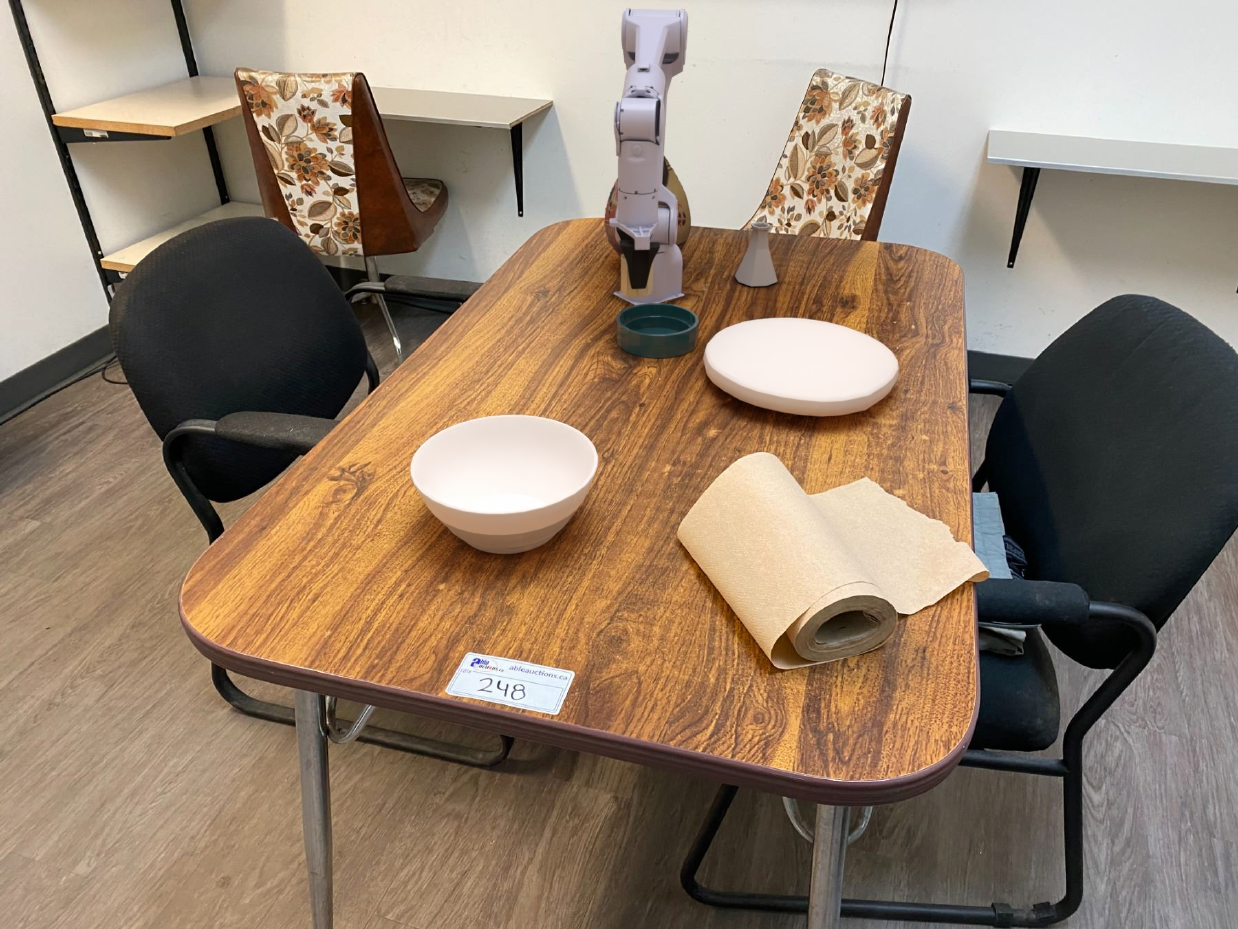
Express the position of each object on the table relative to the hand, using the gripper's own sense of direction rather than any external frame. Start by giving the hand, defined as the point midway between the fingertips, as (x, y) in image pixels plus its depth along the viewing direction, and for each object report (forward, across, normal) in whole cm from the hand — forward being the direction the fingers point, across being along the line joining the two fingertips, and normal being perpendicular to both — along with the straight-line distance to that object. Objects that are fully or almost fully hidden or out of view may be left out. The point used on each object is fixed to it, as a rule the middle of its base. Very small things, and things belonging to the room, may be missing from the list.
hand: (636, 281), depth 135 cm
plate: (+10, +16, +21) cm, 28 cm away
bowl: (+9, +47, -18) cm, 51 cm away
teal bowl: (+9, +2, +3) cm, 10 cm away
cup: (+2, 0, 0) cm, 2 cm away
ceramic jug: (+9, -30, +5) cm, 32 cm away
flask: (+10, -23, +24) cm, 35 cm away
